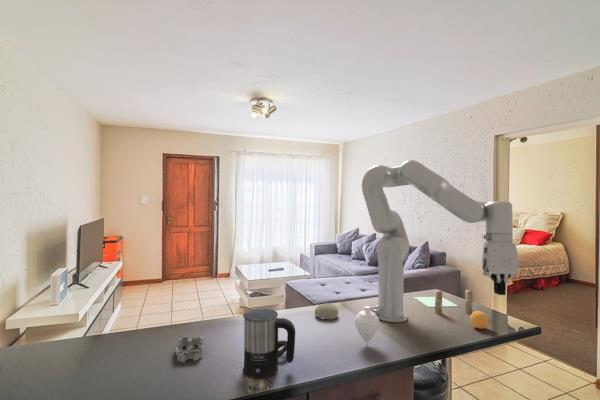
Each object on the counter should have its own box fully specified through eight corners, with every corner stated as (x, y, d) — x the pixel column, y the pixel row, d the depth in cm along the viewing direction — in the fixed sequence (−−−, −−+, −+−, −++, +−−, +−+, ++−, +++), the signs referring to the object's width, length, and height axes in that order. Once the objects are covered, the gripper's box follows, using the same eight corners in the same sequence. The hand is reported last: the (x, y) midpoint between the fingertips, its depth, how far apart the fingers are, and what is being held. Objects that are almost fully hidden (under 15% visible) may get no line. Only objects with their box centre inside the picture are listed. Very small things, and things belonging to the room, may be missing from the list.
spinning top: (379, 341, 103) (380, 304, 103) (379, 352, 95) (379, 312, 96) (355, 338, 105) (356, 302, 105) (353, 349, 98) (353, 309, 98)
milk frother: (244, 382, 79) (244, 321, 79) (238, 353, 94) (239, 302, 94) (299, 374, 83) (300, 316, 83) (285, 347, 98) (286, 299, 98)
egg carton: (178, 347, 98) (179, 334, 98) (204, 345, 99) (204, 332, 99) (174, 364, 87) (174, 349, 87) (202, 361, 89) (203, 346, 89)
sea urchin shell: (308, 310, 127) (321, 294, 130) (320, 322, 129) (333, 306, 132) (319, 317, 119) (333, 300, 121) (332, 330, 121) (345, 313, 124)
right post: (467, 313, 131) (468, 291, 131) (463, 311, 133) (464, 290, 133) (473, 313, 131) (474, 291, 131) (469, 311, 133) (470, 289, 134)
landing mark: (427, 307, 139) (427, 306, 139) (413, 297, 153) (413, 297, 153) (458, 306, 140) (458, 306, 140) (441, 297, 154) (441, 296, 154)
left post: (437, 314, 129) (437, 292, 129) (433, 312, 132) (434, 290, 132) (443, 314, 130) (443, 292, 130) (439, 312, 132) (440, 290, 132)
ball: (476, 331, 112) (476, 314, 112) (466, 325, 118) (466, 308, 118) (492, 331, 113) (492, 314, 113) (481, 324, 119) (481, 308, 119)
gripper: (485, 239, 102) (486, 297, 101) (529, 239, 103) (529, 296, 103) (470, 237, 109) (471, 291, 109) (511, 237, 111) (512, 290, 110)
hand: (499, 293), depth 106 cm, fingers closed
